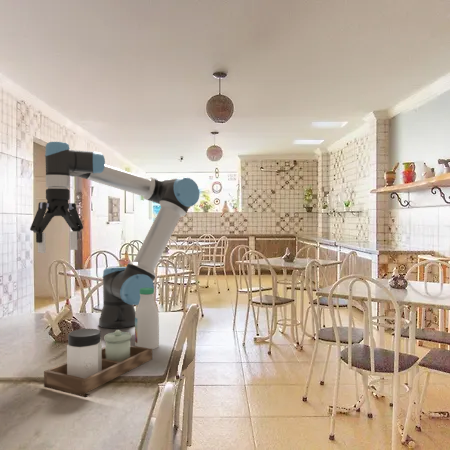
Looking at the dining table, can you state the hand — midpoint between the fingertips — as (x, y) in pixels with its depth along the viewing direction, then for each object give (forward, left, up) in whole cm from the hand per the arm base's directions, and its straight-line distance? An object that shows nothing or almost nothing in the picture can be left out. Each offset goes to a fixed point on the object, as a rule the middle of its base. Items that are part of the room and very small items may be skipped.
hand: (58, 251), depth 143 cm
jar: (+20, +32, -31) cm, 49 cm away
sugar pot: (+7, +32, -31) cm, 45 cm away
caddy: (+14, +32, -32) cm, 47 cm away
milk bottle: (-9, +30, -32) cm, 45 cm away
